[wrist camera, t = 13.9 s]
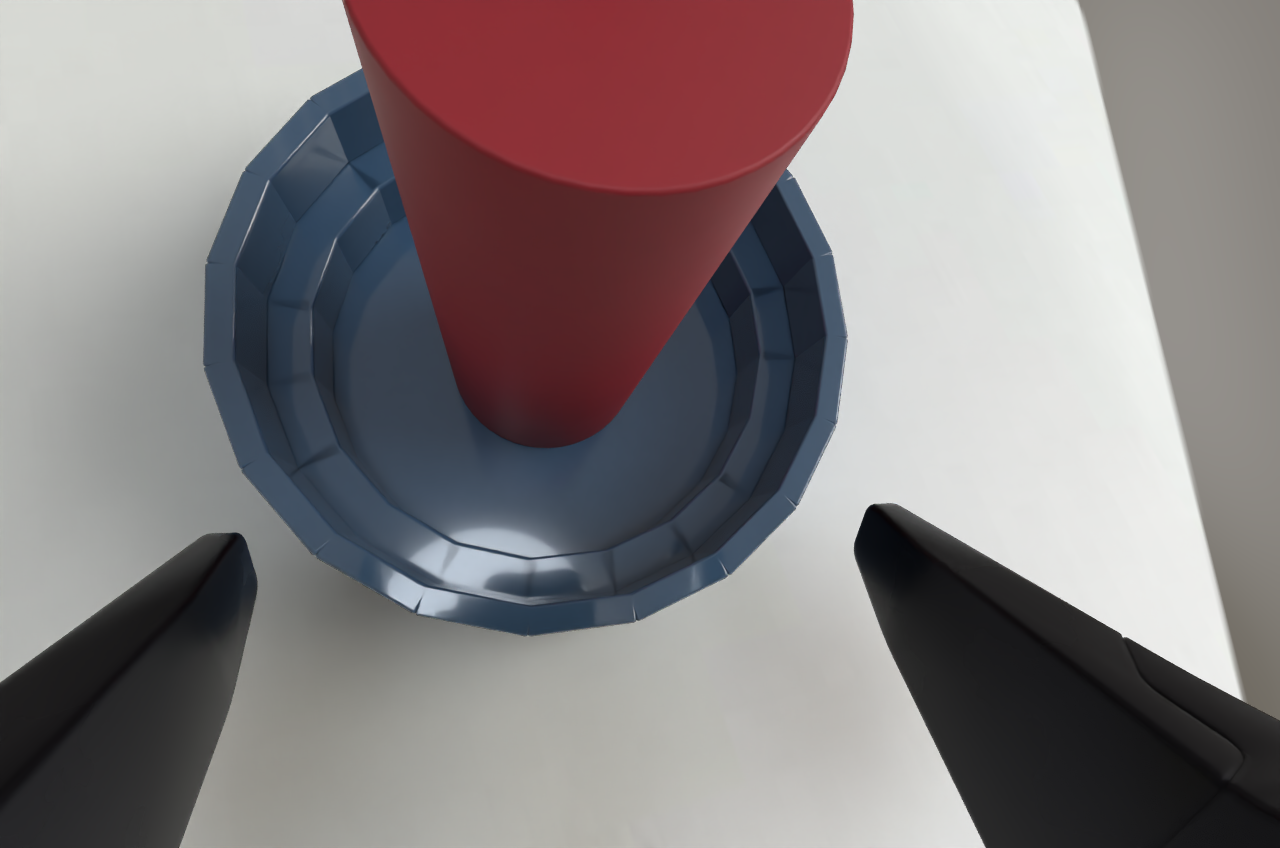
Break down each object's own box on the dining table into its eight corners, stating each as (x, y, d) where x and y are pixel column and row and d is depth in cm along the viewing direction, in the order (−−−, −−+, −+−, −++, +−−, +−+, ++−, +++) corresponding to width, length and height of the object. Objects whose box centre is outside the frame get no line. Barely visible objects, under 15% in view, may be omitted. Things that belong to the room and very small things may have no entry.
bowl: (844, 303, 21) (929, 236, 17) (633, 716, 17) (674, 764, 13) (469, 66, 21) (458, -67, 16) (158, 440, 17) (33, 396, 12)
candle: (666, 391, 19) (1020, -12, 6) (514, 483, 17) (523, 225, 4) (573, 248, 19) (708, -431, 6) (418, 327, 18) (161, -335, 5)
